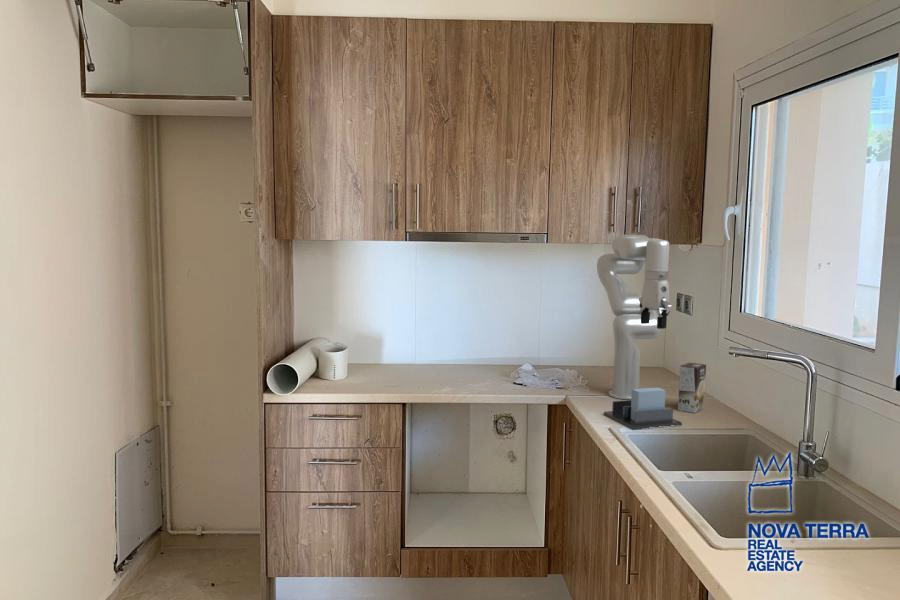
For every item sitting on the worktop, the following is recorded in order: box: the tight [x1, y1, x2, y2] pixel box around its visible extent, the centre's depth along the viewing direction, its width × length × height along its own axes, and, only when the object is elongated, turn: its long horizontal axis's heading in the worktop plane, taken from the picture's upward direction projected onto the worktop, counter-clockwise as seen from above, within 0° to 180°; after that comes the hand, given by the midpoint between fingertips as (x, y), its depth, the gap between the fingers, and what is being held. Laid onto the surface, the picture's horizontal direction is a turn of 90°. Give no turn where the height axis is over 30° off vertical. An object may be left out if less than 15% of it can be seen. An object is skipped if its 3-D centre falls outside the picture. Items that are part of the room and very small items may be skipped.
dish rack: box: [603, 399, 683, 431], centre depth 211 cm, size 18×18×5 cm
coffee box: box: [677, 362, 707, 414], centre depth 225 cm, size 9×6×16 cm
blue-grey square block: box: [630, 387, 666, 420], centre depth 208 cm, size 10×4×10 cm, turn 107°
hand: (653, 325), depth 217 cm, fingers open, 9 cm apart
